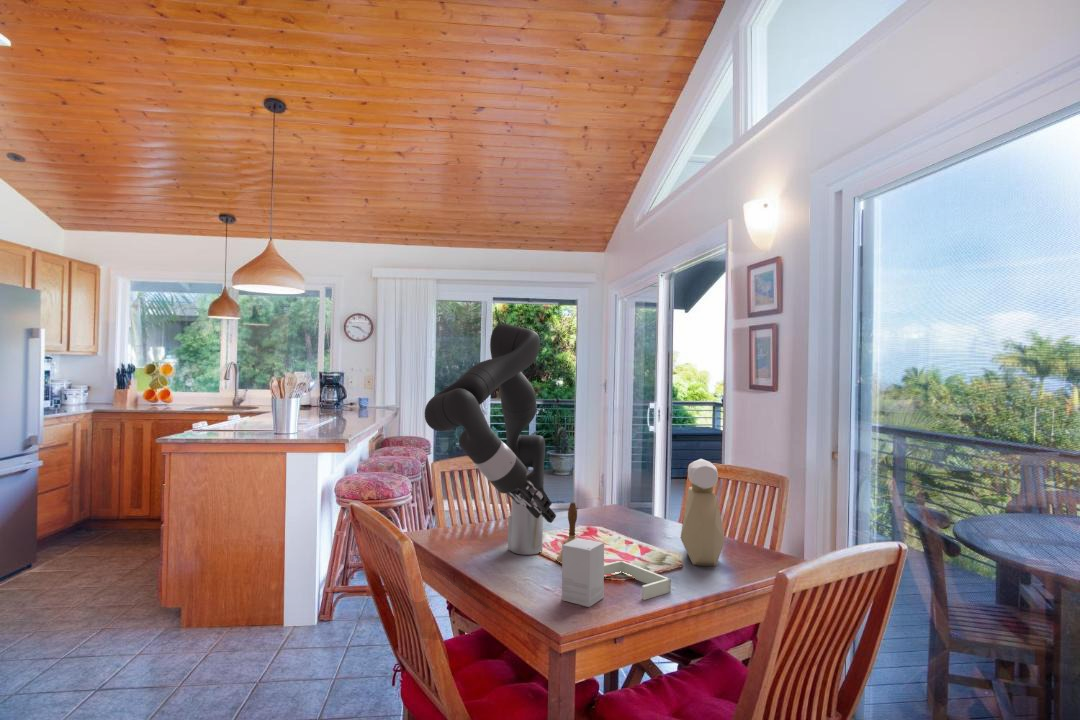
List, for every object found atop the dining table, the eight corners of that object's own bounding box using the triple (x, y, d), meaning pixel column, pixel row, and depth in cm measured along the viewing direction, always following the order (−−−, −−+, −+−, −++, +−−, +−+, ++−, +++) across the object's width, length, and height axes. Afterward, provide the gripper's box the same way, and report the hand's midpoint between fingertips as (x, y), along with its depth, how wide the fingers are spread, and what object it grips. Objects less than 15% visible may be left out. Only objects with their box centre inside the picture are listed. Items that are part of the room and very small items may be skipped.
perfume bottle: (685, 572, 152) (687, 465, 152) (675, 545, 176) (676, 452, 176) (733, 575, 150) (734, 466, 151) (716, 548, 174) (717, 454, 175)
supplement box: (604, 597, 134) (605, 542, 134) (588, 608, 128) (589, 550, 128) (577, 590, 138) (577, 536, 138) (560, 600, 132) (561, 544, 132)
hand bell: (591, 559, 161) (592, 501, 161) (576, 567, 154) (577, 507, 154) (565, 554, 166) (567, 497, 166) (550, 561, 159) (551, 502, 159)
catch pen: (644, 600, 133) (644, 586, 133) (595, 578, 146) (595, 566, 146) (670, 591, 138) (670, 579, 138) (621, 571, 151) (621, 560, 152)
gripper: (531, 456, 116) (576, 509, 123) (493, 447, 127) (536, 497, 134) (508, 485, 112) (556, 539, 119) (471, 474, 124) (517, 523, 131)
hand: (545, 516), depth 127 cm, fingers open, 4 cm apart
